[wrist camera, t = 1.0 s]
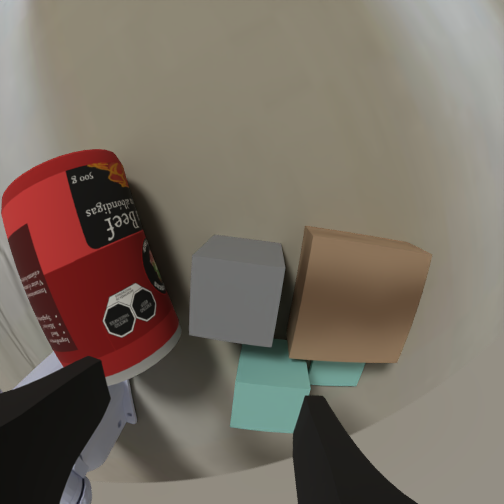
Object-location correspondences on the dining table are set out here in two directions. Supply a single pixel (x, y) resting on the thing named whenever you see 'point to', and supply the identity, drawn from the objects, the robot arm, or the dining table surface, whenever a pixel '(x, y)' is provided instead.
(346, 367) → the swatch
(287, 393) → the teal block
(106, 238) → the canned food
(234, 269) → the grey block
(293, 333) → the walnut base
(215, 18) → the dining table surface
